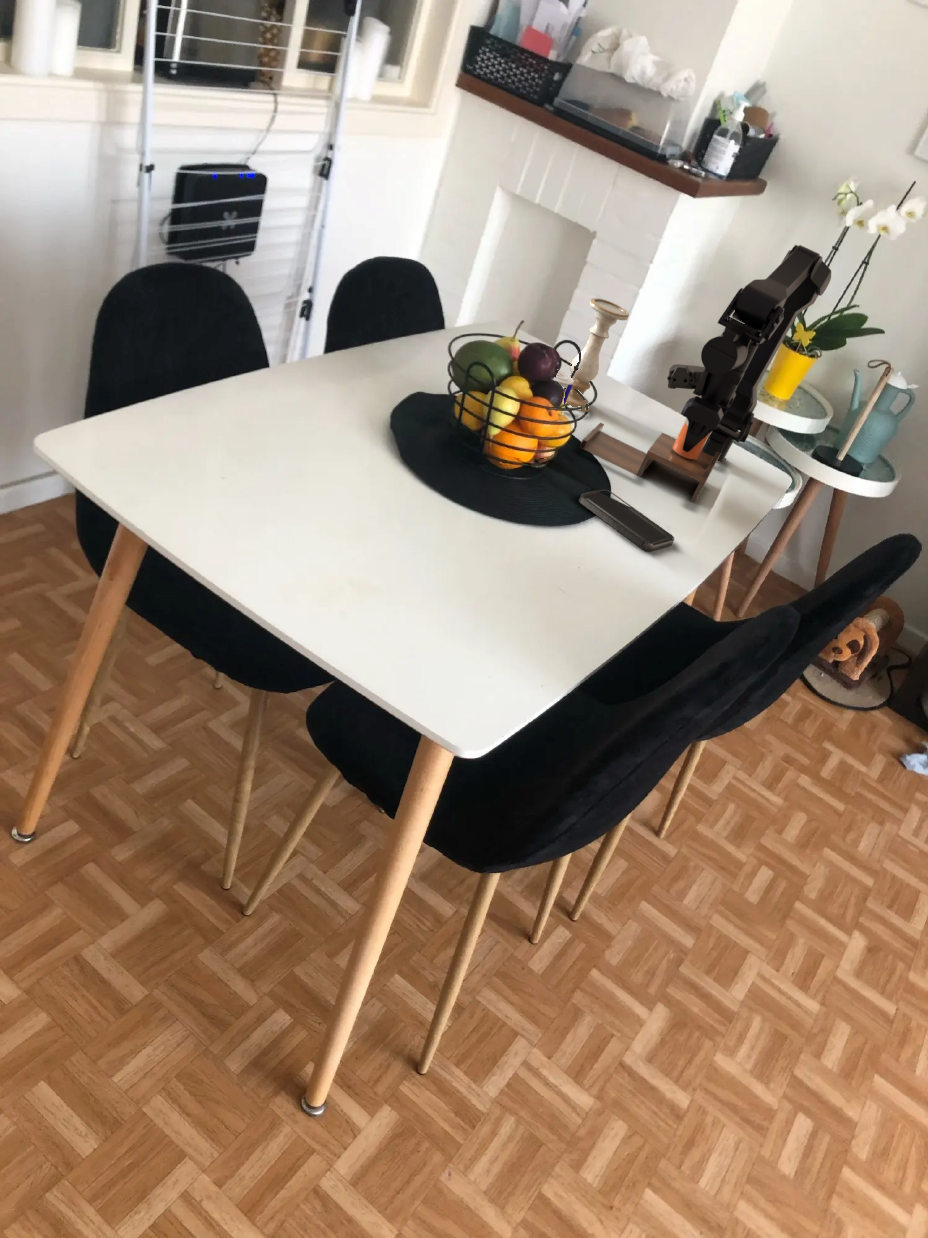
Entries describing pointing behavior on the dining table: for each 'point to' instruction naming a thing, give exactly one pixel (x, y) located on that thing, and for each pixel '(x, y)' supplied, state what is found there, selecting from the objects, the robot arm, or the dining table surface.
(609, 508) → the phone
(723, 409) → the robot arm
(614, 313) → the candle holder
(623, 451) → the step rack
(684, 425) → the spice jar
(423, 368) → the dining table surface
